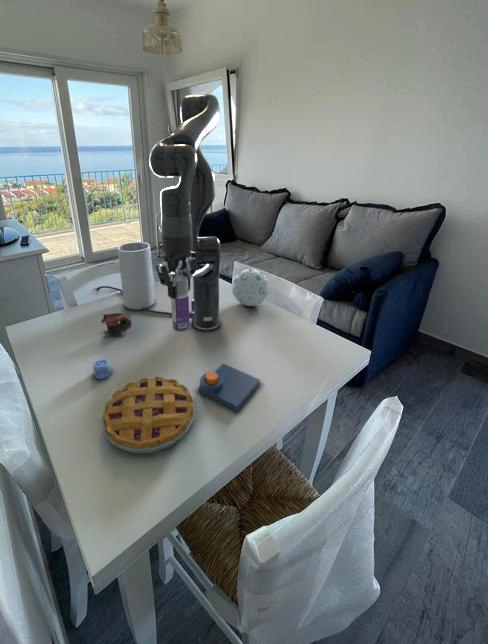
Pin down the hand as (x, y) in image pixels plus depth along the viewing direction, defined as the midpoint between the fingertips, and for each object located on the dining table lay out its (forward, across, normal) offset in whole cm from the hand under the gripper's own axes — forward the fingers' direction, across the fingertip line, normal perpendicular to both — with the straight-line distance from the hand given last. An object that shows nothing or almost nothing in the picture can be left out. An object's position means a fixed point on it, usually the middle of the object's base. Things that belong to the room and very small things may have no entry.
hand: (179, 294), depth 84 cm
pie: (+25, +18, +6) cm, 32 cm away
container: (+11, 0, 0) cm, 11 cm away
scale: (+25, -2, +15) cm, 29 cm away
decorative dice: (+25, +15, -18) cm, 34 cm away
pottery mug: (+26, -2, -33) cm, 42 cm away
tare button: (+22, +2, +12) cm, 25 cm away
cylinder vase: (+26, -22, -43) cm, 55 cm away
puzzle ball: (+26, -48, -5) cm, 55 cm away
